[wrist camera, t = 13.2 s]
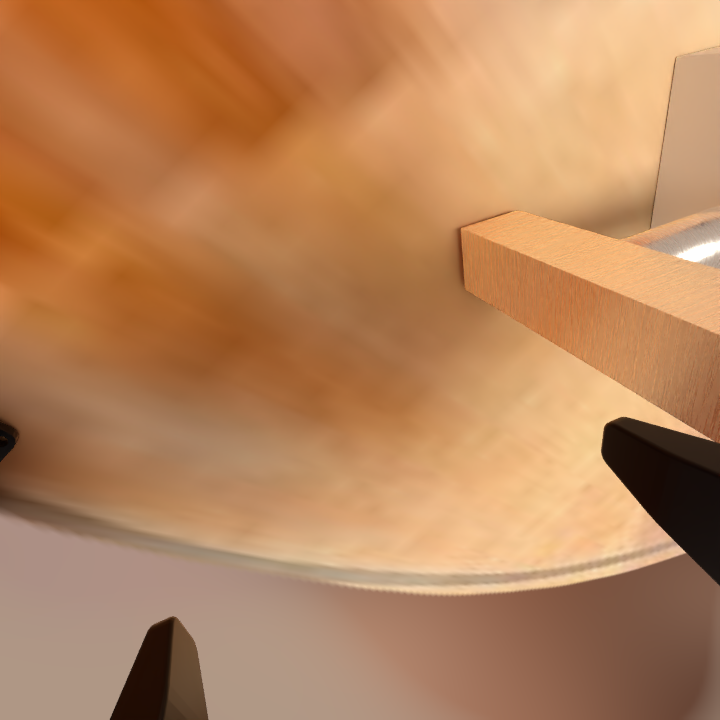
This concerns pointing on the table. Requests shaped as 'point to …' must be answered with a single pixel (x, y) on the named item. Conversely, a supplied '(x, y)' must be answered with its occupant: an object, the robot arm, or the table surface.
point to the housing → (691, 140)
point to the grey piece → (614, 301)
